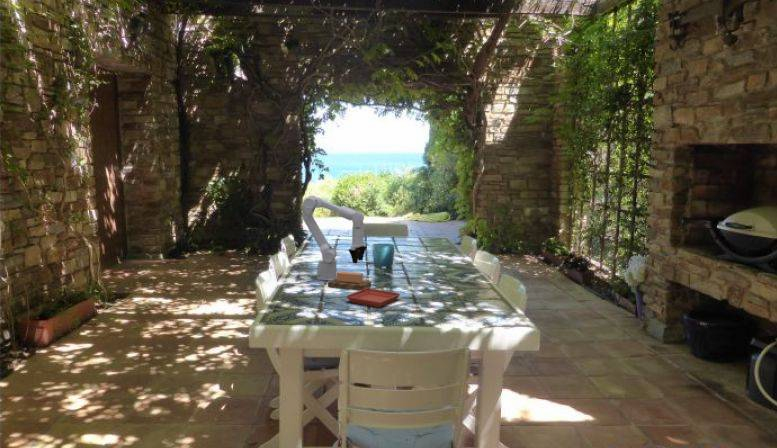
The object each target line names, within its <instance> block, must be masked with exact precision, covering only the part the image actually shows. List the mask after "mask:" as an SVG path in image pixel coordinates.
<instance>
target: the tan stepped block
mask: <svg viewBox="0 0 777 448" xmlns="http://www.w3.org/2000/svg"><path fill="white" fill-rule="evenodd" d="M342 281H343V282H353V283H357V284H362V283H363V281H364V273H363V272H355V271H354V272H353V271H352V272H351V271H341V270H340V271H337V282H340V283H341V282H342Z"/></svg>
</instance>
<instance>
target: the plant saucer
mask: <svg viewBox="0 0 777 448" xmlns="http://www.w3.org/2000/svg"><path fill="white" fill-rule="evenodd" d="M400 296H401V293H398V292H392V291H387V290H381V289H374V288H367V289H364V290H361V291H359V290H357V291H355V292H353V293H351V294H348V295H346V296H345V297H346V298H347V299H348V301H349V302H350V303H352V304H358V305H364V306H368V307H374V308H381V307H383V306H385V305H388V304H389V303H392V302H394V301H396V300H397V299H398V298H399V297H400Z"/></svg>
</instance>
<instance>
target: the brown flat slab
mask: <svg viewBox="0 0 777 448" xmlns="http://www.w3.org/2000/svg"><path fill="white" fill-rule="evenodd" d="M328 287H330V288H331V289H339V288H340V290H349V289H351V290H352V291H359V290H364V289H367V288H369V287H370V288H371V287H372V281H369V280H368V281H367V280H363V283H362V284H357V283H353V282H343V281H342V282H341V283H340V282H337V278H335V279H333V280H332V281H330V280H329V281H328V282H327V288H328ZM330 288H329V289H330ZM370 288H369V289H370Z"/></svg>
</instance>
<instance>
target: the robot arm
mask: <svg viewBox="0 0 777 448" xmlns="http://www.w3.org/2000/svg"><path fill="white" fill-rule="evenodd" d="M301 208H302V209H301V218H302V221H304V224H305V225H306V227H307V228H308V231H309V232H310V233H311V236H312V237H313V240H314V241H315V242H316V243H317V245H318V247H319V251H320V253H321V258H322V261H319V262H318V263H317V266H316V267H317V273H316V275H317V278H316V280H319V281H329V282H330V281H332V280H333V279H335V278H337V273H338V271H337V270H338V269H337V268H338V267H337V265H338V264H337V262H338V261H337V259H336V257H337V255H338V253H337V251H336V248H333V247H332V244H330V243H329V242H328V240H327V238H326V236H325V235H324V233H323V231H322V230H321V228H320V226H319V225H318V223H317V221H316V220H315V218H314V216H313V215H314V212H315V210H316V209H318V208H319V209H320V208H324V209H327V210H330V211H333V212H336V213H337V214H338V217H340V218H343V219H346V220H348V221H351V222H352V234H351V235H352V238H351V239H352V242H351V246H350V248H349V249H348V253H349V254H350V256H351V261H352V264H357V263H358V261H363V259H364V255H365V252H366V249H367V246H366V245H367V244H366V243H365V241H364V237H365V236H364V234H365V233H364V229H365V227H364V219H365V216H364V215H365V214H364V213H363V212H362V211H360V210H358V211H357V209H353V208H350V207H349V206H348V205H340V206H338V205H337V204H335V203H333V202H330V201H328V200H326V199H323V198H321V197H319V196H318V197H317V196H315V195H310V196H308V197H306V198H304V199H303V202H302V204H301Z"/></svg>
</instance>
